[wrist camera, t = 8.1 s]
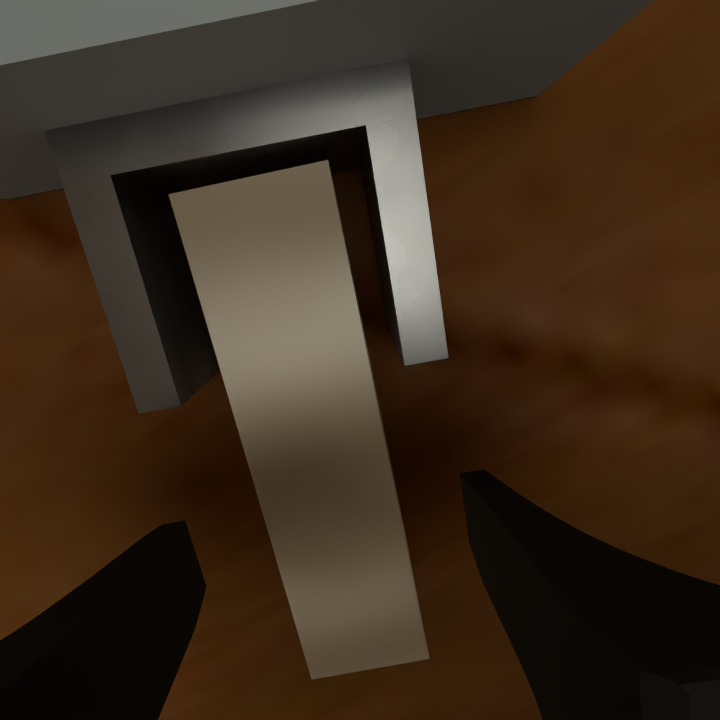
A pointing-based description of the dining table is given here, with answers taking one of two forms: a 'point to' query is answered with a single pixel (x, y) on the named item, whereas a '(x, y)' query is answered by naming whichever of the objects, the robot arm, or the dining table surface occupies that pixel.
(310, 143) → the bracket
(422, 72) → the backboard
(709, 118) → the dining table surface
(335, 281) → the rail
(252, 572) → the dining table surface
